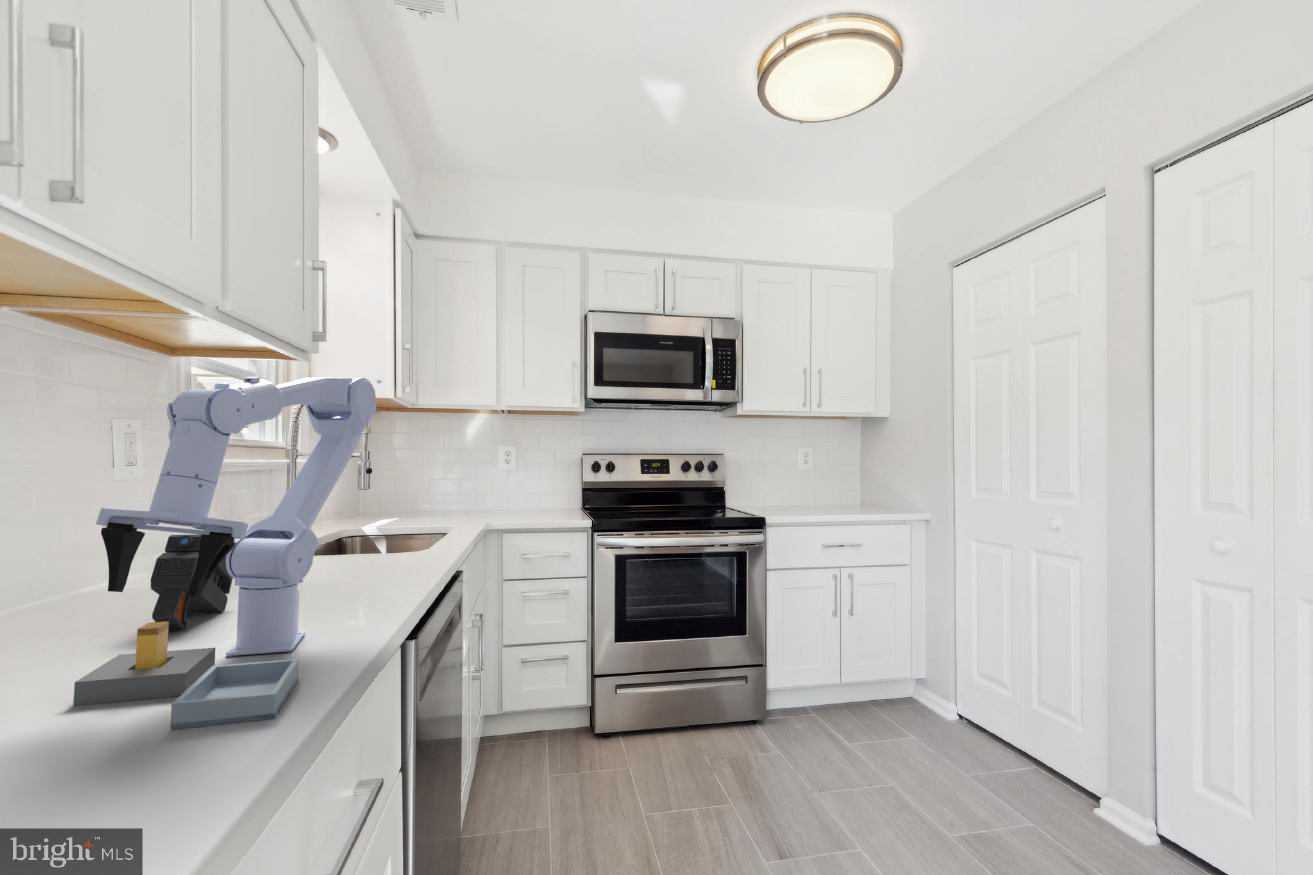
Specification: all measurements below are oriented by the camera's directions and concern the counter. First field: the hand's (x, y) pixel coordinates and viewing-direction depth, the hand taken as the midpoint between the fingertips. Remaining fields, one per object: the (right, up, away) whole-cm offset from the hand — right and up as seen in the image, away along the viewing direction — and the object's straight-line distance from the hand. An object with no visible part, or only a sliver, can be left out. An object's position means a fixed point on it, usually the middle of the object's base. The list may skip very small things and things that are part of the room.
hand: (155, 594), depth 71 cm
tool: (-19, -12, +30) cm, 37 cm away
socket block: (-2, -11, +1) cm, 11 cm away
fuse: (-2, -11, +1) cm, 11 cm away
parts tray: (+12, -11, -3) cm, 17 cm away
